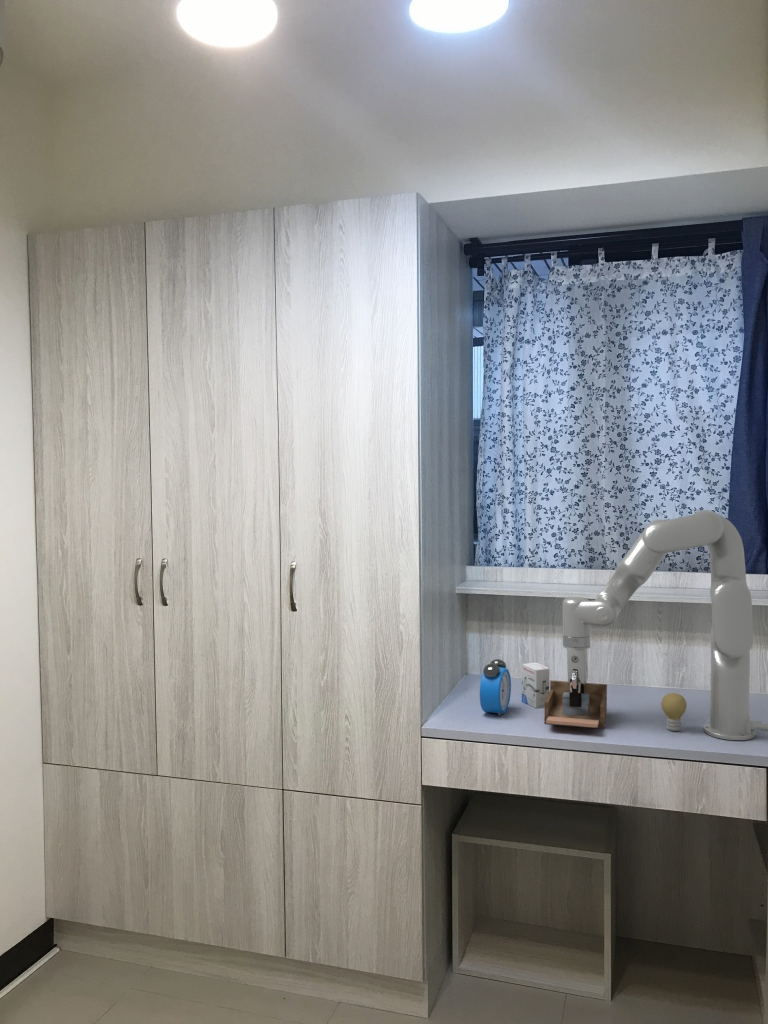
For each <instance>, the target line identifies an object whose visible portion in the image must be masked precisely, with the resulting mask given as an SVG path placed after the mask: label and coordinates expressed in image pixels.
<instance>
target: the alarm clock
mask: <svg viewBox="0 0 768 1024" xmlns="http://www.w3.org/2000/svg"><path fill="white" fill-rule="evenodd" d="M511 679H512V678H511V674H510V670H509V669H508V668H507V664H506V662H505V661H504V660H502V659H500V658H496V659H493V660H491V661H490V663H488V664H486V665H485V666H484V667H483V670H482V674H481V678H480V683H479V704H480V707H481V710H482V712H484V713H492V714H498V717H499V716H501V714H502V715H504V714H505V713H506V712H507V710H508V708H509V705H510V701H511V693H512V683H511V681H512V680H511Z"/></svg>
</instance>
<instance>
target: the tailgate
mask: <svg viewBox="0 0 768 1024" xmlns="http://www.w3.org/2000/svg"><path fill="white" fill-rule="evenodd" d="M546 723H549V724H548V725H552V724H561V725H560V726H564V725H573V726H572V727H576V726H585V727H584V728H588V727H598V724H599V720H588V719H576V718H563V717H551V716H549V717H548V718H547V720H546Z"/></svg>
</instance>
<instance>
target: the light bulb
mask: <svg viewBox="0 0 768 1024" xmlns="http://www.w3.org/2000/svg"><path fill="white" fill-rule="evenodd" d="M660 703H661V709H662V711H663V712H664V714H665V715H666V725H665V727H666V729H667V730H668V731H670V732H679V731H681V729H682V719H681V718H682V716H684V714H685V713H686V710H687V702H686V698H685V697H684V696H683V695H681V694H679V693H676V692H671V693H667V694H665V695H664V697H662V700H661V702H660Z"/></svg>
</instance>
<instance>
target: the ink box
mask: <svg viewBox="0 0 768 1024" xmlns="http://www.w3.org/2000/svg"><path fill="white" fill-rule="evenodd" d="M521 665H522V667H521V670H522V671H521V702H522V703H525V704H526V705H529V706H530V707H531V708H534V709H541V708H545V700H546V698H547V696H548V694H549V691H550V668H549V667H547V666H545V665H544V664H542V663H539V662H527V663H522V664H521Z"/></svg>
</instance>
